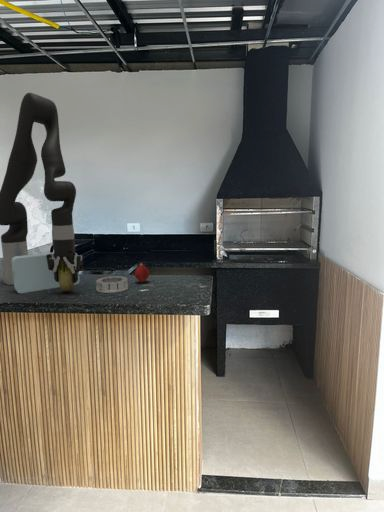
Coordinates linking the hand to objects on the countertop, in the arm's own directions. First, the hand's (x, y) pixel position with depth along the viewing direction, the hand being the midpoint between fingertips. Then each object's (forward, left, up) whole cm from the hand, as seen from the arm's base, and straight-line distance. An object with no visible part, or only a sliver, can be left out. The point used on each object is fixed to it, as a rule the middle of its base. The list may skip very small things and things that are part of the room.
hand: (66, 282), depth 126 cm
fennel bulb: (0, 0, -3) cm, 3 cm away
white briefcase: (-12, +5, -4) cm, 13 cm away
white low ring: (+14, +8, -4) cm, 17 cm away
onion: (+22, +19, -4) cm, 30 cm away
